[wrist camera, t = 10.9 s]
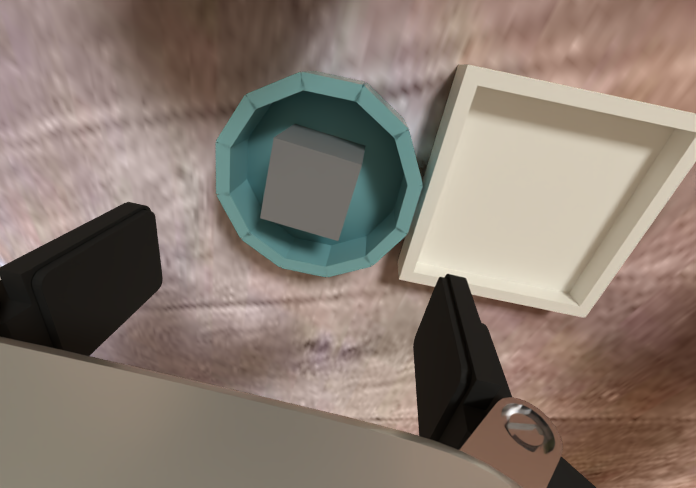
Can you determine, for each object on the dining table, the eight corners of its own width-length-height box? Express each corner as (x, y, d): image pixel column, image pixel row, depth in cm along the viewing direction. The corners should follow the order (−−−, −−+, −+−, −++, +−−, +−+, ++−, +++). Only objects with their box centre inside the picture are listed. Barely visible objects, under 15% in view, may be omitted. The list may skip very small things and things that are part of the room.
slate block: (365, 145, 20) (362, 164, 16) (345, 210, 22) (338, 241, 18) (294, 123, 20) (273, 137, 16) (281, 191, 22) (260, 218, 18)
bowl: (437, 97, 19) (448, 102, 16) (388, 262, 25) (390, 290, 22) (241, 55, 19) (214, 53, 16) (237, 231, 25) (216, 254, 21)
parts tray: (687, 113, 18) (725, 119, 16) (568, 297, 25) (585, 317, 23) (458, 64, 18) (467, 64, 16) (397, 262, 25) (398, 279, 23)
